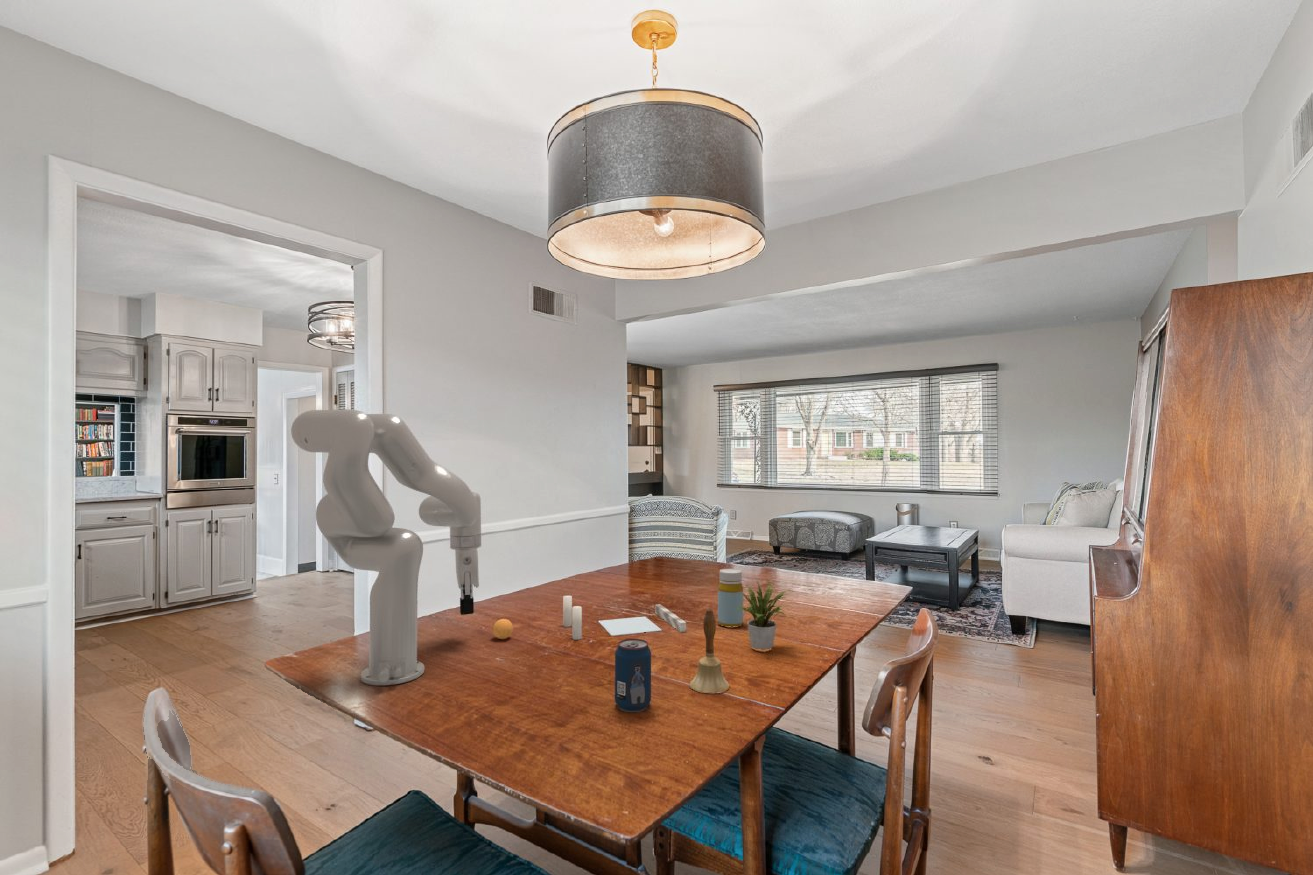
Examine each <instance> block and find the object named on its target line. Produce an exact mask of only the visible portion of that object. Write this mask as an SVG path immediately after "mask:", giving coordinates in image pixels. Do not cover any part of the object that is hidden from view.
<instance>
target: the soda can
mask: <svg viewBox="0 0 1313 875" xmlns="http://www.w3.org/2000/svg"><path fill="white" fill-rule="evenodd" d="M617 645H618V646H617V648H616V650H615V651H614V701H615V704H616V705H617V707H618V709H619V710H621V711H623V712H627V713H639V712H643V711H645V710H646V709H647V708H648V706H649V705H650V703H651V701H652V651H651V648H650V646H649V643H648V641H647V640H644V639H641V638H625V639H622V640H620V641H618V643H617Z"/></svg>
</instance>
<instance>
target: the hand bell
mask: <svg viewBox="0 0 1313 875" xmlns="http://www.w3.org/2000/svg"><path fill="white" fill-rule="evenodd" d="M702 627H703V635H704V637H705V656H703V657H702V658H700V659H699V661H698V668H697V671H696V673H695V674H696V675H695V676H694V678H693V679H692V680H691V681H690V683H689V688H690V689H691V690H692V689H693V690H692V691H694V690H695V691H694V692H696V691H697V693H699V692H700V694H703V693H717V692H721V691H724V690H726V689H728V688H729V686H730V683H729V682H728V681H727V680H726V679H725V677H724V674H723V671H722V662H721V660H720V659H719V658H717V657H715V649H714V648H715V647H714V638H715V635H716V631H717V629H716V628H717V622H716V618H715V615H714V611H713V609H712V608H709V609H708V608H707V609H706V610H705V615H704V617H703V625H702ZM729 689H730V688H729Z"/></svg>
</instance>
